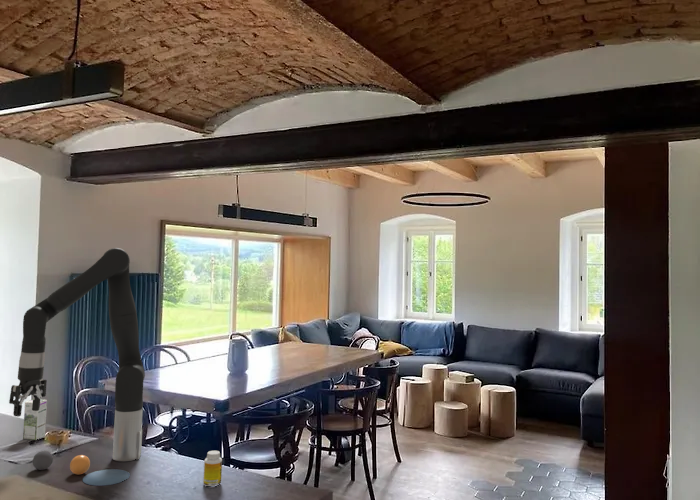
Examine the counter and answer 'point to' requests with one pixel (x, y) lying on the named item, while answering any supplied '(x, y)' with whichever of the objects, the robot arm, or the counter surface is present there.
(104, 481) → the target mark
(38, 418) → the syrup box
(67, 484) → the counter surface
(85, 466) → the object ball
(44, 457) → the cue ball
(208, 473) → the supplement bottle
